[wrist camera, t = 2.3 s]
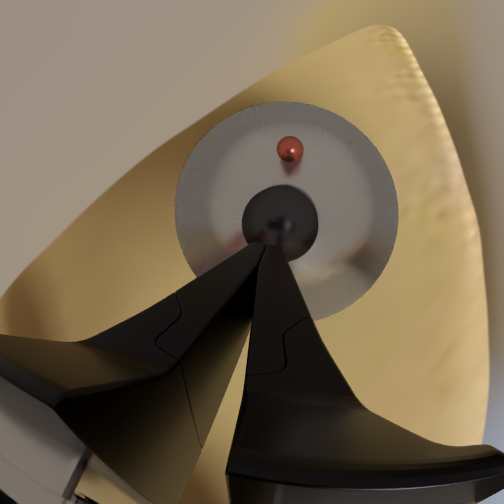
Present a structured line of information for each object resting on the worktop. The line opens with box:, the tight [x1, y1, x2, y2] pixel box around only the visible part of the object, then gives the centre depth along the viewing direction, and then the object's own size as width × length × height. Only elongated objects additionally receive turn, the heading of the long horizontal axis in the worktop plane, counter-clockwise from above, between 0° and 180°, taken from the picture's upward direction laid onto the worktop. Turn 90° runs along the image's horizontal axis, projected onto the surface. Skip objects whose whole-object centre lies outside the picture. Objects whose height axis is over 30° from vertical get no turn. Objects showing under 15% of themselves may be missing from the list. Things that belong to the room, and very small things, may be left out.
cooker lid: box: [175, 102, 398, 321], centre depth 13 cm, size 10×10×3 cm
